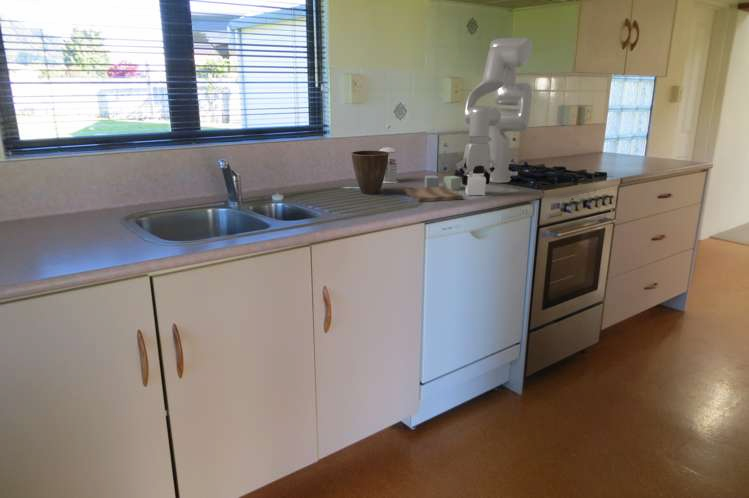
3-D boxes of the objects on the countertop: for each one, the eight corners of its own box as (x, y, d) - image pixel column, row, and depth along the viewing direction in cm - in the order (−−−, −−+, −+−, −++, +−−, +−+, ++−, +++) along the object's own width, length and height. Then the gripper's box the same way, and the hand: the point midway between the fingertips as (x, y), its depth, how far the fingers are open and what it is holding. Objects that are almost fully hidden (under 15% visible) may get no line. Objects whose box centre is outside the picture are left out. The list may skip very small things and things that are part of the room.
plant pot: (344, 192, 213) (343, 152, 208) (370, 187, 223) (370, 149, 218) (370, 197, 203) (369, 156, 198) (396, 192, 213) (396, 152, 208)
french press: (399, 179, 239) (400, 123, 231) (397, 184, 228) (398, 126, 220) (377, 179, 240) (377, 123, 232) (375, 184, 229) (375, 125, 221)
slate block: (436, 187, 224) (436, 175, 222) (438, 189, 219) (438, 177, 217) (424, 187, 223) (424, 175, 222) (426, 189, 219) (427, 178, 217)
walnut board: (444, 190, 217) (444, 186, 217) (462, 199, 201) (463, 195, 200) (403, 192, 213) (403, 188, 213) (418, 202, 196) (418, 198, 196)
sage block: (452, 187, 224) (453, 175, 222) (460, 189, 219) (460, 177, 218) (443, 188, 221) (443, 176, 220) (450, 190, 217) (451, 178, 216)
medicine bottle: (483, 192, 214) (485, 162, 210) (485, 196, 207) (487, 165, 203) (465, 192, 214) (467, 162, 210) (466, 195, 207) (468, 165, 204)
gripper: (494, 139, 209) (490, 181, 215) (453, 139, 205) (451, 183, 210) (503, 141, 203) (499, 185, 208) (461, 142, 198) (459, 187, 203)
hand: (475, 184), depth 209 cm, fingers closed on medicine bottle, 8 cm apart
